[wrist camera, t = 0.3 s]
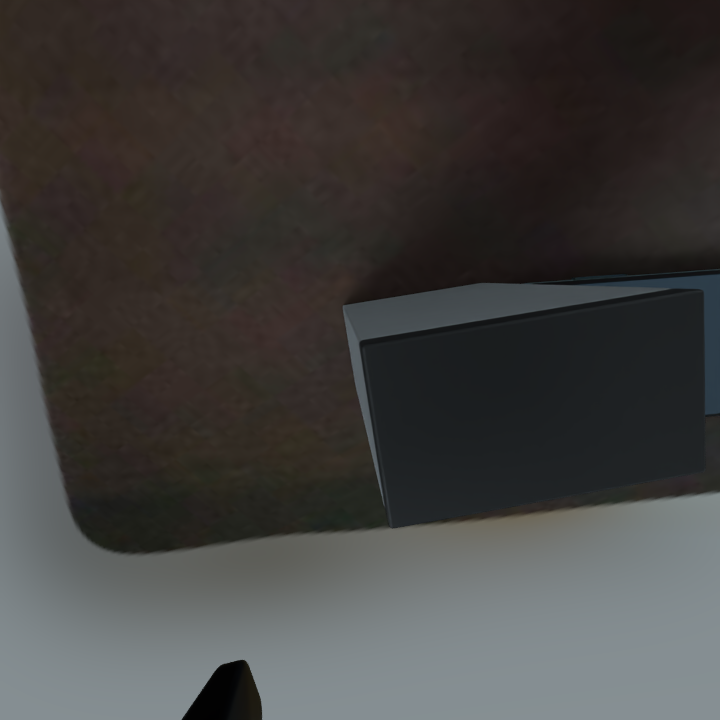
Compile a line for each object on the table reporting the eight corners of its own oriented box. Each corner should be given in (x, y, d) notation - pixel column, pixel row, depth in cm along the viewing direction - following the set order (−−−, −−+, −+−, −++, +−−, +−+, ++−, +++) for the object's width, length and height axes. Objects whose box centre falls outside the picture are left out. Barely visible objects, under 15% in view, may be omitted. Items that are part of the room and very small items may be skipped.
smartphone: (796, 411, 23) (515, 440, 21) (763, 402, 24) (501, 429, 23) (814, 261, 21) (515, 282, 20) (778, 262, 23) (500, 282, 22)
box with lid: (490, 361, 23) (707, 473, 10) (355, 384, 22) (389, 530, 9) (482, 282, 22) (706, 288, 9) (342, 305, 22) (360, 345, 9)
